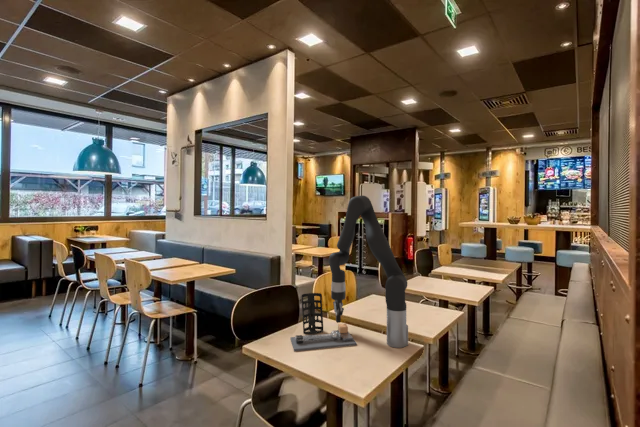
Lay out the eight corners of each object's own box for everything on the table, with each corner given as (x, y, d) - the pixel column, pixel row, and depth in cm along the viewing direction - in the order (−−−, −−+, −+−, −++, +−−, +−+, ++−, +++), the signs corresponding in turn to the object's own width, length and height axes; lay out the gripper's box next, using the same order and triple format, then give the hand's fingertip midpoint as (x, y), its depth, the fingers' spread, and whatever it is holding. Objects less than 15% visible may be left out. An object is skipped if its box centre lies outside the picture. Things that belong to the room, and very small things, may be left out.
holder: (305, 335, 173) (304, 296, 174) (300, 331, 180) (299, 293, 181) (325, 332, 177) (323, 293, 179) (319, 329, 184) (318, 291, 186)
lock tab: (345, 329, 175) (345, 323, 175) (347, 332, 171) (347, 326, 171) (338, 330, 174) (338, 324, 174) (340, 333, 170) (340, 327, 170)
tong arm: (332, 335, 168) (333, 333, 168) (334, 337, 165) (334, 335, 165) (294, 337, 164) (294, 335, 164) (295, 340, 161) (295, 337, 161)
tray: (348, 333, 176) (348, 332, 176) (356, 345, 162) (356, 343, 162) (290, 339, 170) (290, 337, 170) (294, 351, 156) (294, 349, 156)
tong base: (346, 332, 175) (346, 325, 175) (352, 340, 165) (352, 333, 165) (294, 336, 170) (294, 330, 170) (297, 346, 159) (297, 338, 159)
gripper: (348, 292, 174) (348, 326, 174) (341, 286, 187) (341, 317, 187) (334, 293, 172) (334, 327, 173) (328, 286, 185) (328, 318, 186)
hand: (338, 322), depth 180 cm, fingers closed
